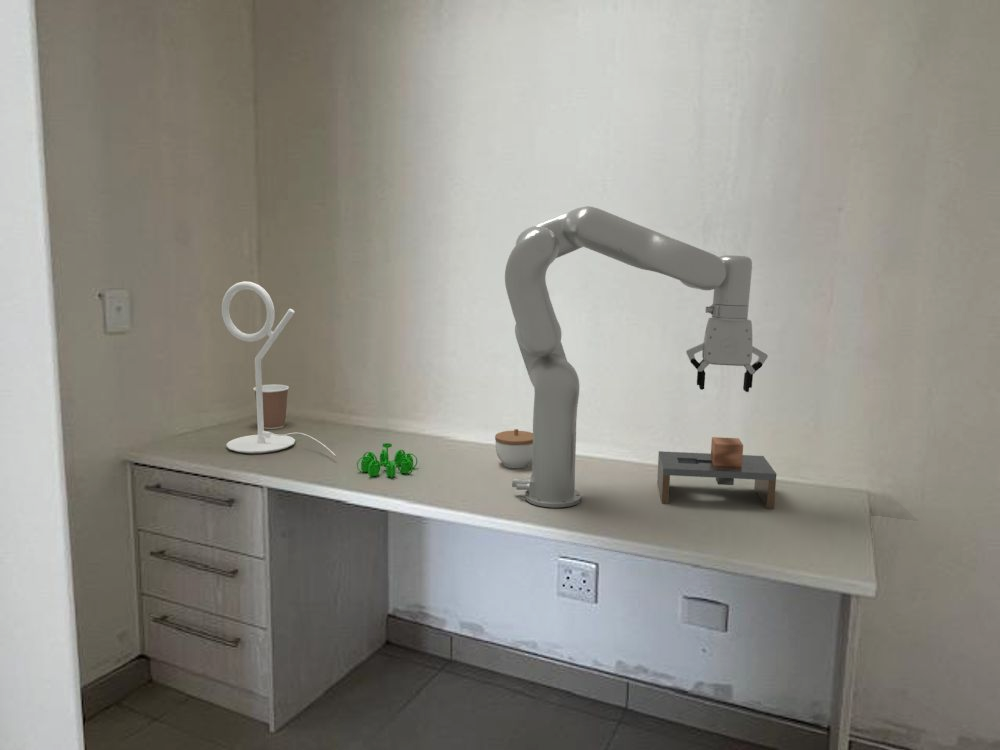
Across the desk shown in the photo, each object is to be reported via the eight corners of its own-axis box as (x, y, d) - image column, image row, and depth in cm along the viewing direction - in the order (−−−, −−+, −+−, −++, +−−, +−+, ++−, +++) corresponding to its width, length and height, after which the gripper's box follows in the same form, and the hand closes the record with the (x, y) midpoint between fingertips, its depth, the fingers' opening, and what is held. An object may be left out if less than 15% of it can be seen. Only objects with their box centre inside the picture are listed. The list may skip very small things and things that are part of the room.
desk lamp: (208, 450, 211) (198, 282, 203) (248, 434, 228) (241, 278, 220) (332, 464, 200) (327, 286, 192) (365, 446, 217) (362, 282, 209)
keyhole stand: (661, 503, 174) (663, 468, 172) (657, 483, 188) (658, 451, 186) (773, 509, 171) (776, 473, 170) (760, 488, 185) (763, 455, 183)
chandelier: (429, 468, 199) (429, 441, 197) (394, 484, 186) (394, 456, 184) (381, 459, 206) (380, 434, 204) (344, 474, 193) (343, 447, 191)
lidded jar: (490, 460, 205) (490, 425, 204) (529, 457, 208) (530, 423, 206) (500, 472, 195) (501, 435, 193) (541, 469, 198) (542, 433, 196)
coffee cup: (295, 423, 243) (293, 384, 241) (282, 431, 233) (281, 391, 231) (262, 421, 244) (261, 383, 242) (249, 429, 234) (247, 390, 231)
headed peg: (712, 485, 176) (715, 443, 174) (709, 477, 182) (711, 437, 180) (740, 487, 175) (743, 445, 173) (736, 479, 181) (738, 438, 179)
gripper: (691, 312, 169) (685, 390, 172) (774, 316, 167) (767, 395, 170) (687, 309, 176) (682, 384, 179) (767, 312, 174) (760, 388, 177)
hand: (723, 389), depth 174 cm, fingers open, 9 cm apart
